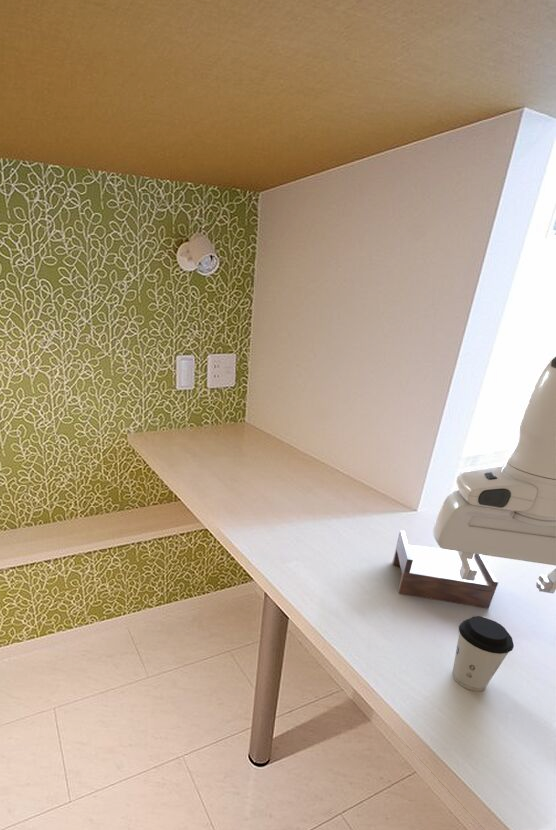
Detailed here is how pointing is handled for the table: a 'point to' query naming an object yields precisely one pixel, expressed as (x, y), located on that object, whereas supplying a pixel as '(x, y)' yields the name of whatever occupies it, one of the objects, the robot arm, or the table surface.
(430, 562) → the stand
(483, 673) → the coffee cup
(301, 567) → the table surface
